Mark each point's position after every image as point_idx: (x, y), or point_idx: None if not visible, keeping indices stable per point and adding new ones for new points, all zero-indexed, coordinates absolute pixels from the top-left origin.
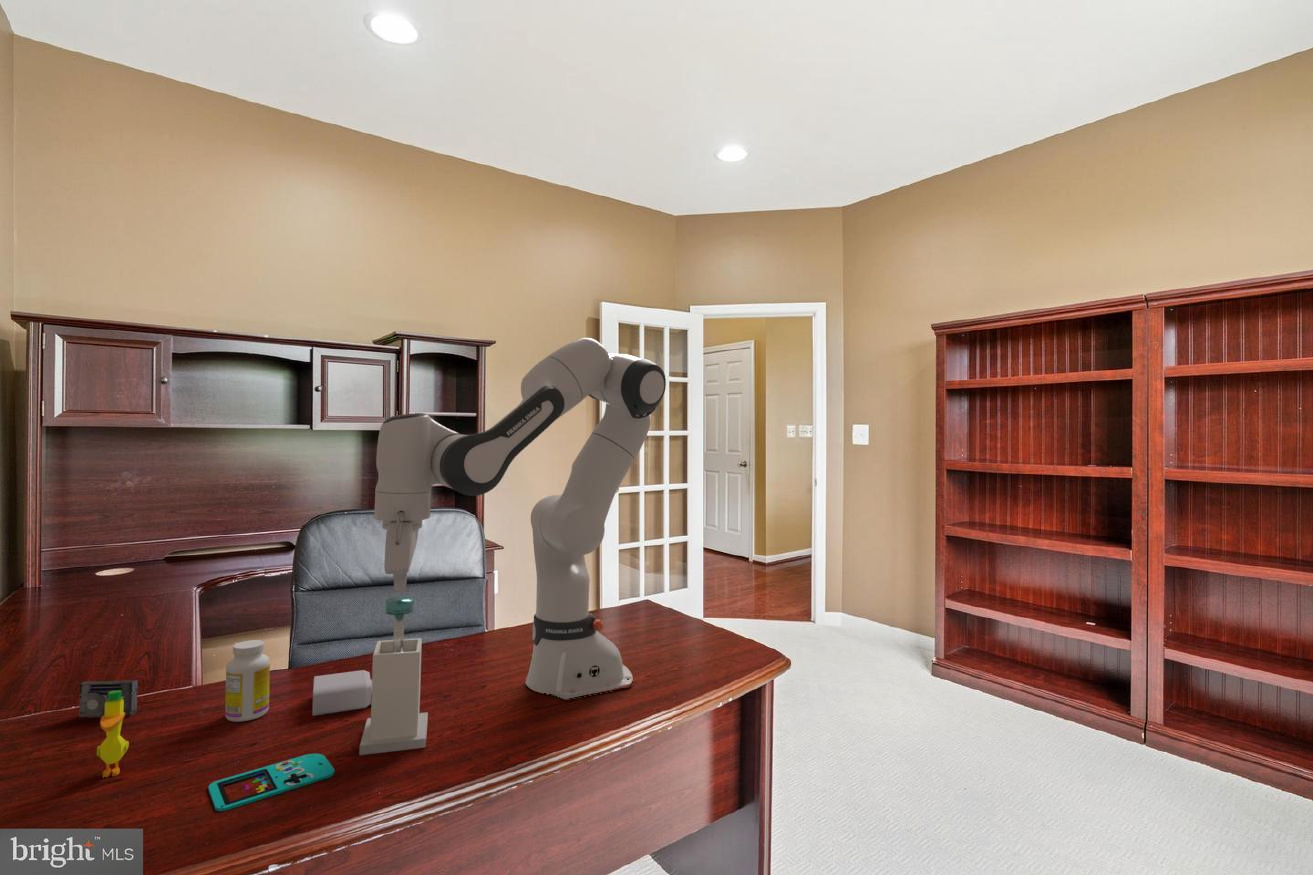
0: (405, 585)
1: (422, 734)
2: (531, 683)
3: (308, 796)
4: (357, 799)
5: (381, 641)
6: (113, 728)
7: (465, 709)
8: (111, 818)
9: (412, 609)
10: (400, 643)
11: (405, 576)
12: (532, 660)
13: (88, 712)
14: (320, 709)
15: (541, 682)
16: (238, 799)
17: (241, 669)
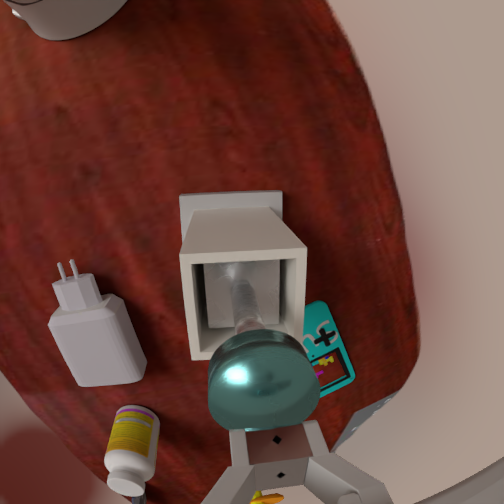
0: (311, 432)
1: (265, 198)
2: (90, 23)
3: (359, 313)
4: (383, 261)
5: (196, 352)
6: (277, 494)
7: (147, 131)
8: (330, 435)
9: (276, 334)
10: (258, 307)
11: (356, 467)
12: (59, 13)
13: (145, 499)
14: (142, 356)
15: (108, 3)
16: (345, 371)
17: (153, 470)
